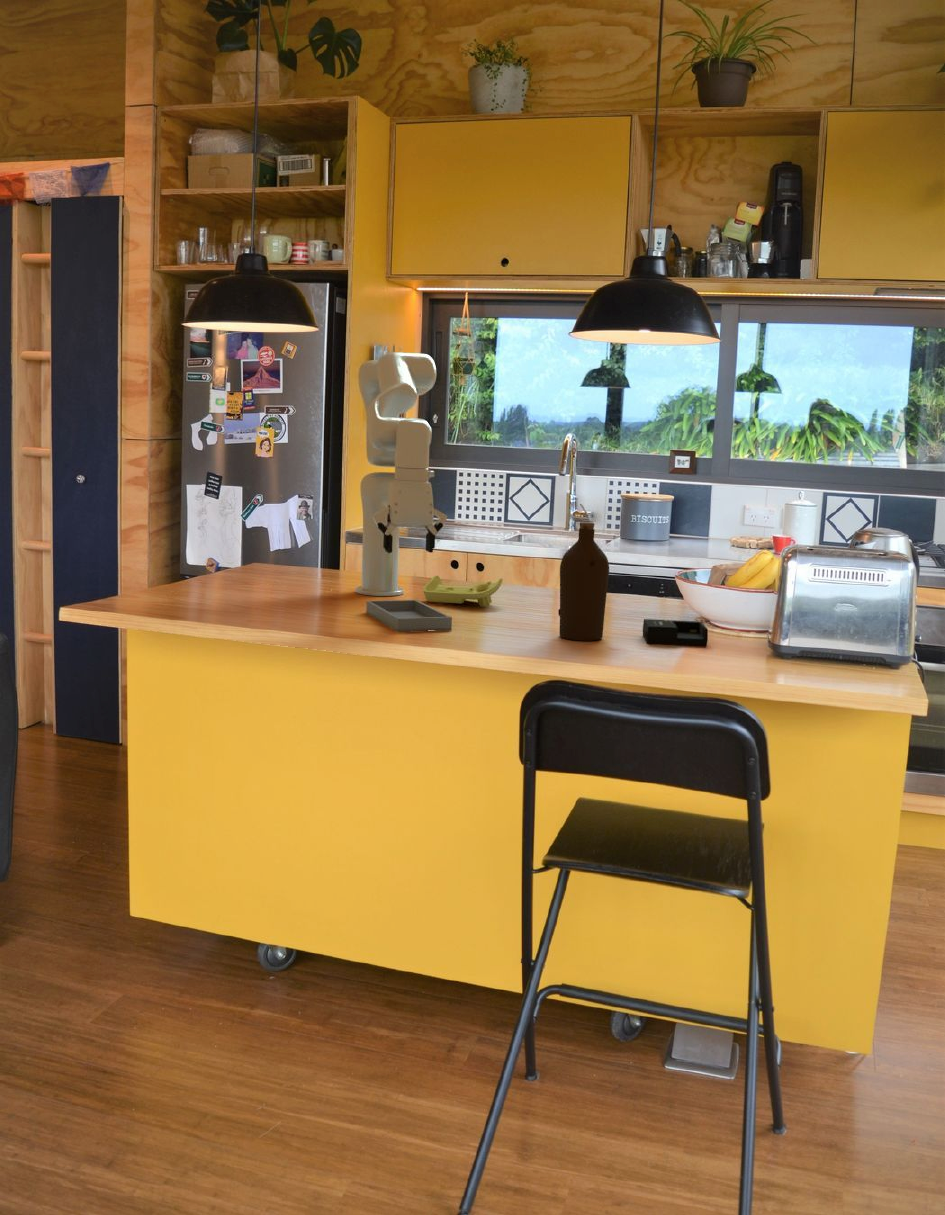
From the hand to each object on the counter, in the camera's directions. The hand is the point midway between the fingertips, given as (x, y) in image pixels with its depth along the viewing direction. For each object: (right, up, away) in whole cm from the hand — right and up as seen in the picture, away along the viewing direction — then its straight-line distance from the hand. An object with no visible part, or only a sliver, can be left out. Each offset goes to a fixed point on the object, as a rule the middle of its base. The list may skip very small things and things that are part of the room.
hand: (409, 551), depth 256 cm
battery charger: (+58, -20, -8) cm, 62 cm away
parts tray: (-1, -16, +2) cm, 16 cm away
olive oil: (+38, -19, -8) cm, 43 cm away
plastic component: (+10, -12, +26) cm, 31 cm away
